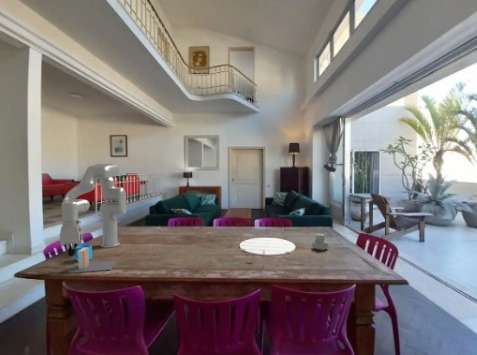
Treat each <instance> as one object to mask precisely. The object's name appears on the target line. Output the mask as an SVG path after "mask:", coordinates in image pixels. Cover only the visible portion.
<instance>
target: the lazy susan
mask: <svg viewBox="0 0 477 355" xmlns="http://www.w3.org/2000/svg"><path fill="white" fill-rule="evenodd" d="M239 249H240V251H243V252H245V253H248V254H252V255H256V256H265V257H266V256H272V257H275V256H283V255H287V254H291V253H293V252H294V251H295V250H296V245H295V243H294V242H292V241H290V240H285V239H282V238H276V237H254V238H249V239H246V240H243V241H242V242H240V244H239Z"/></svg>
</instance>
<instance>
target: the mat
mask: <svg viewBox="0 0 477 355" xmlns="http://www.w3.org/2000/svg"><path fill="white" fill-rule="evenodd" d="M116 262H118V260H106V261H89V265H88V266H87V267H86V268H85V269H79V262H77V263H76V264H75V265H74V266H73V267H71V268H70V269H69V270H68V271H67V273H66V274H80V272H81V273H93V271H96V272H107V271H106V270H110V271H111V270H112V269H113V268H114V267H115V265H117V263H116ZM112 267H113V268H112Z"/></svg>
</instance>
